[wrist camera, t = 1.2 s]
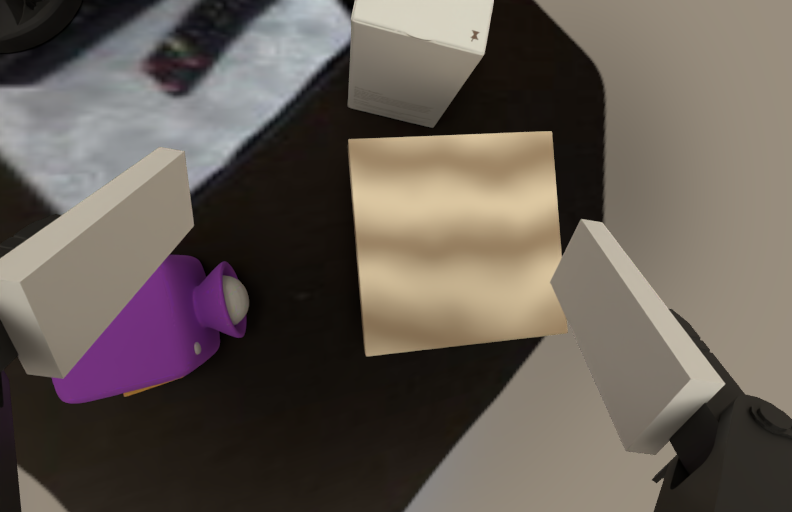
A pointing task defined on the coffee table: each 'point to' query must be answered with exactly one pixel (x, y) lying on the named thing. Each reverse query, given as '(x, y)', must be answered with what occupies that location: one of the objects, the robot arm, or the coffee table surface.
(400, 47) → the supplement box
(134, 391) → the toy camera
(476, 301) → the low wooden platform
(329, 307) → the coffee table surface
